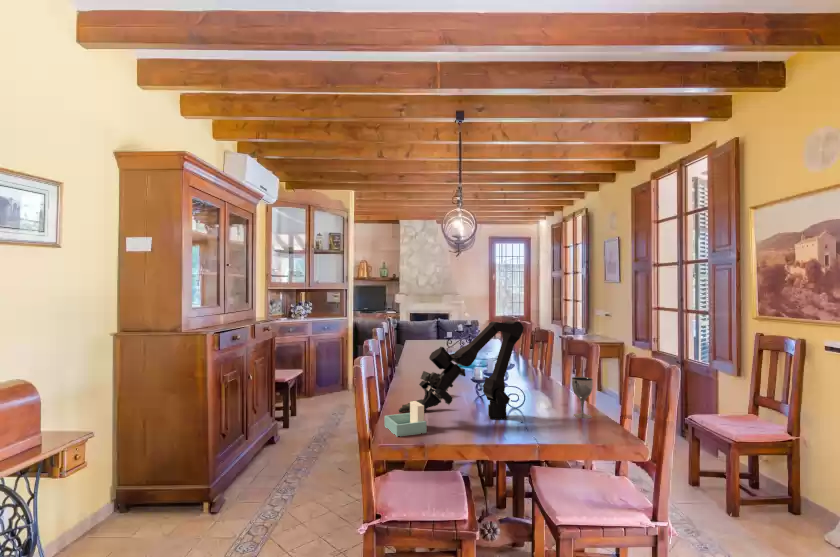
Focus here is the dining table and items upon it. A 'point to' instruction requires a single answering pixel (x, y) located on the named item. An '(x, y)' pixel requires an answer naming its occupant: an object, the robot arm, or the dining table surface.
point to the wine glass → (582, 392)
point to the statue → (407, 406)
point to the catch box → (404, 425)
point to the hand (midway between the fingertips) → (420, 409)
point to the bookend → (416, 412)
